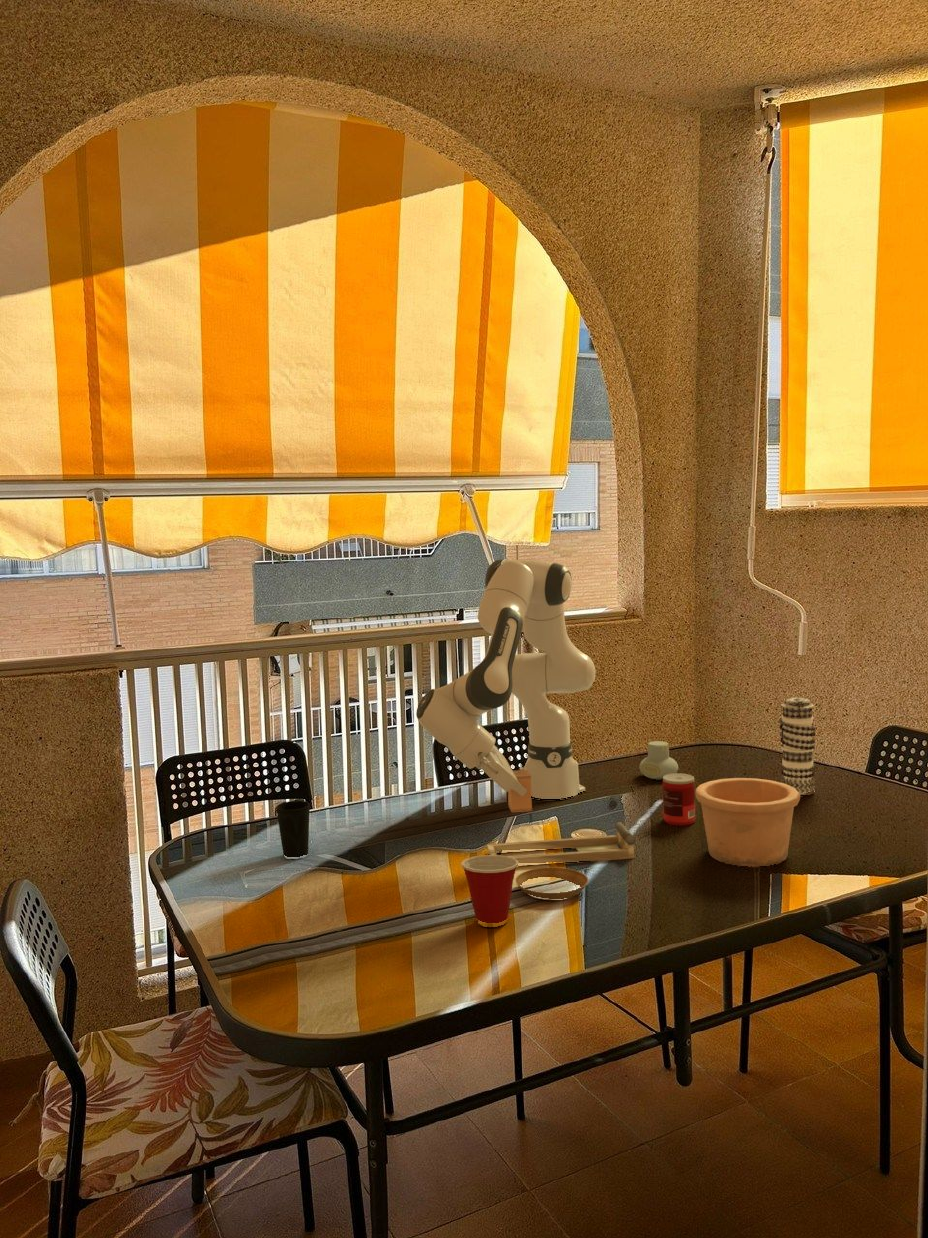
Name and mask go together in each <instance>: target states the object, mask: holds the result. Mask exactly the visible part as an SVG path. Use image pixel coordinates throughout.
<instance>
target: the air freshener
mask: <svg viewBox="0 0 928 1238" xmlns="http://www.w3.org/2000/svg"><path fill="white" fill-rule="evenodd" d="M638 769H639V771H640V773H641V774H642V775H643V776H645V777H646V778H648V779H650V778H651V779H650V780H652V779H656V780H655V781H660V780H662V779H663V776H665V775H668V774H674V773H678V771H679V764H678V763H677V760H675V759H674V758H672V757H670V744H669V743H668V742H667V741H660V740H655V741H653V740H652V741H649V742H648V744H647V756H646V757H644V758H643V759H642V760H641V761H640V764H639V767H638ZM662 781H663V780H662Z"/></svg>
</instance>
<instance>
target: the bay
mask: <svg viewBox="0 0 928 1238" xmlns="http://www.w3.org/2000/svg"><path fill="white" fill-rule="evenodd" d="M614 828H615V830H616V834H612V835H611V834H609V835H598V836H586V837H585V836H584V837H569V838H568V837H567V838H558V839H545V840H531V841H518V842H517V841H516V842H504V843H491V844H487V845H486V848H487V850H488V853H489V855H497V854H496V852H495V851H501V850H520V849H554V848H572V849H575V850H576V851H570V852H557V853H555V852H554V853H542V854H531V855H530V854H529V855H518V856H511V857H512V858H514V859H516V860H518V863H546V862H552V863H553V862H577V863H580V862H579V861H591V862H600V861H604V862H605V861H612V860H613V861H614V860H626V859H627V860H628V859H635V843H636V842H637V841H636V838H635V837H634V835H633V834H632V833H631V832H630V830H628V828H627V827H626V826H625V825H624V824H623V822H621V821H618V822H616V823H615V824H614ZM488 853H487V854H488Z"/></svg>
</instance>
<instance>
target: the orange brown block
mask: <svg viewBox="0 0 928 1238" xmlns="http://www.w3.org/2000/svg"><path fill="white" fill-rule="evenodd" d="M512 771H513V773H514V774H515V776H516V778H517V780H518V782H519V783H520V784H522V785H523V786H524V787H525V788H526V790H527V792H526V793H525V794H524V795H523V796H521V795H520V794H518V793H517V792H516V791H514V790H513V789H511V790H510V791H508V792H507V796H508V797H507V799H508V801H507V802H508V803H507V804H508V805H507V806H508V808H509V811H510V812H511V813H521V812H522V813H524V812H533V807H532V806H533V802H532V799H533V798H531V775H530V773H529V772H528V770H520V769H518V770H512Z"/></svg>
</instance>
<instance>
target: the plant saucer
mask: <svg viewBox="0 0 928 1238" xmlns="http://www.w3.org/2000/svg"><path fill="white" fill-rule="evenodd" d="M538 877H556V878H561V879H564V880H567V881H569V882H572V883H574V884H576V885H580V887H581V888H578V889H576V890H572V891H568V892H560V893H543V892H536V891H531V890H528V889H525V888H523V887H521V886H520V885H522V883H523V882H525V881H527V880H528V879H533V878H538ZM515 883H516V885H517V886H518V887H519V889H520V890H521V891H522V890H523V891H522V892H524V894H526V893H527V894H530V895H533V896H536V897H541V898H549V899H564V898H570V897H572V898H574V897H576V896H578V895H579V894H580V893H581V892H582V891H583V890H584V889H585V888H586V886H587V885H588V883H589V877H588V876H587V875H586V874H585V873H583V872H581V871H578V870H575V869H573V868H566V867H554V866H553V867H539V868H533V869H529V870H526V871H524V872H522V873H520V874H518V875H517V876H516V878H515ZM527 894H526V895H527ZM575 895H576V896H575ZM573 896H574V897H573ZM570 899H571V898H570Z"/></svg>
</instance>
